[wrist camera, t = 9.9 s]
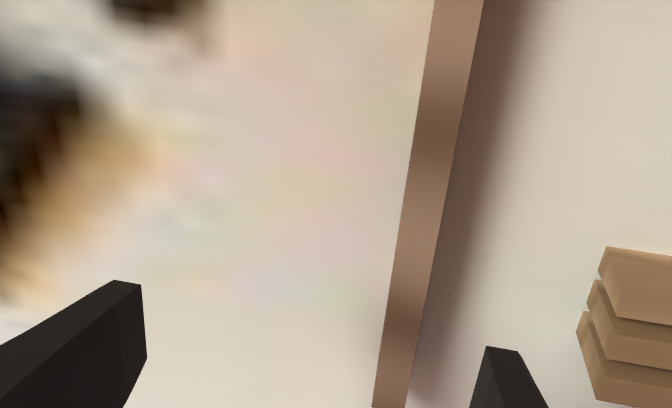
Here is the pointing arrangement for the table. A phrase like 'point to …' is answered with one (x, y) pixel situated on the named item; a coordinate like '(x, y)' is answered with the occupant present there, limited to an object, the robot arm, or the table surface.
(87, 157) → the table surface
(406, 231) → the rack
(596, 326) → the offcut stack
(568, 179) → the table surface
